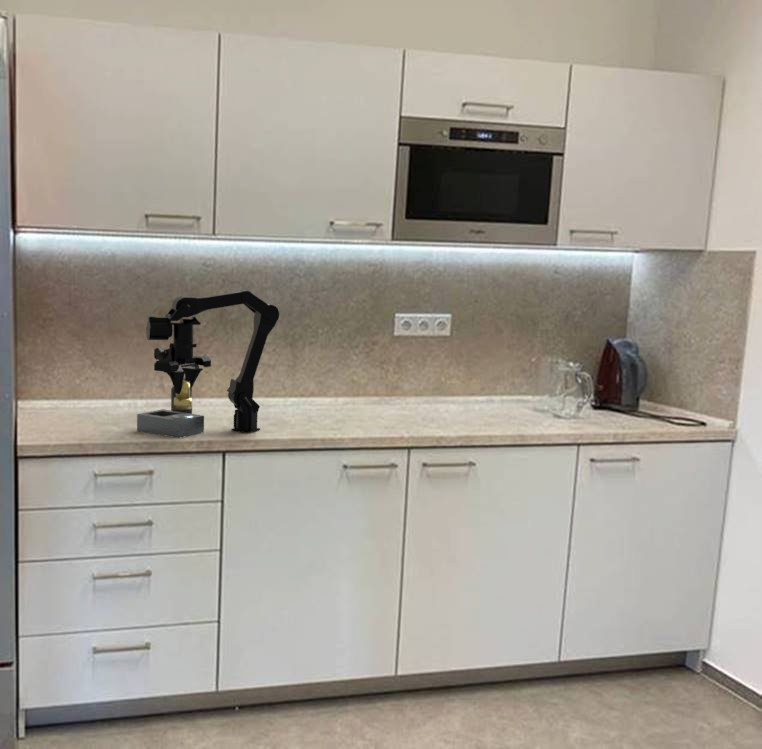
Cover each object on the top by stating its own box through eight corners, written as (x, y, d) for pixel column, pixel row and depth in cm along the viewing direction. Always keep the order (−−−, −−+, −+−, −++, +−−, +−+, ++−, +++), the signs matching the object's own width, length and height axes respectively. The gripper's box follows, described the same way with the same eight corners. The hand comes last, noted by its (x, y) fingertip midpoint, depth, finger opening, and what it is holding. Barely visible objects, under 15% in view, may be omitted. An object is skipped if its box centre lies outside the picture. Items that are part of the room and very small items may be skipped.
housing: (203, 432, 258) (204, 415, 258) (179, 438, 249) (179, 420, 248) (162, 425, 266) (162, 408, 265) (137, 430, 256) (137, 413, 255)
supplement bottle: (183, 411, 290) (183, 376, 288) (196, 414, 286) (197, 378, 284) (166, 414, 285) (166, 377, 283) (179, 417, 280) (179, 380, 279)
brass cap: (195, 407, 255) (195, 381, 254) (183, 410, 251) (184, 383, 250) (181, 406, 258) (182, 379, 257) (170, 408, 253) (170, 381, 252)
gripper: (183, 336, 263) (183, 386, 266) (139, 340, 247) (139, 393, 249) (212, 338, 258) (211, 390, 260) (169, 343, 242) (169, 398, 244)
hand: (183, 393), depth 254 cm, fingers closed on brass cap, 4 cm apart
